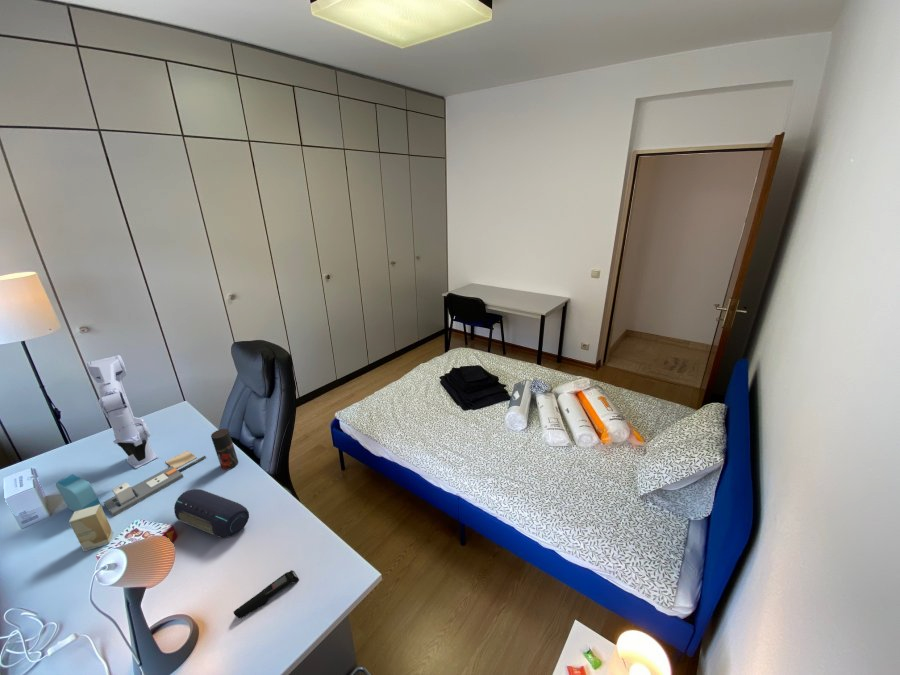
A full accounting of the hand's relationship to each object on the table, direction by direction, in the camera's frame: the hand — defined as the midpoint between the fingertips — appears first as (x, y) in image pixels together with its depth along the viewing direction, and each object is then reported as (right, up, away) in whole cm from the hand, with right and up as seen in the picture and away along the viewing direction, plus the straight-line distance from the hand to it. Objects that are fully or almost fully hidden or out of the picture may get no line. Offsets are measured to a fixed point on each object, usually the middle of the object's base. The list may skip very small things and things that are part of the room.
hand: (136, 456), depth 132 cm
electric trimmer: (+67, -25, -36) cm, 80 cm away
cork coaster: (+6, -6, +14) cm, 17 cm away
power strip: (+6, -10, +3) cm, 13 cm away
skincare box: (+6, -20, -20) cm, 29 cm away
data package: (-11, -16, -8) cm, 20 cm away
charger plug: (+1, -14, -5) cm, 15 cm away
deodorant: (+27, -7, +11) cm, 30 cm away
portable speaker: (+38, -17, -15) cm, 44 cm away
